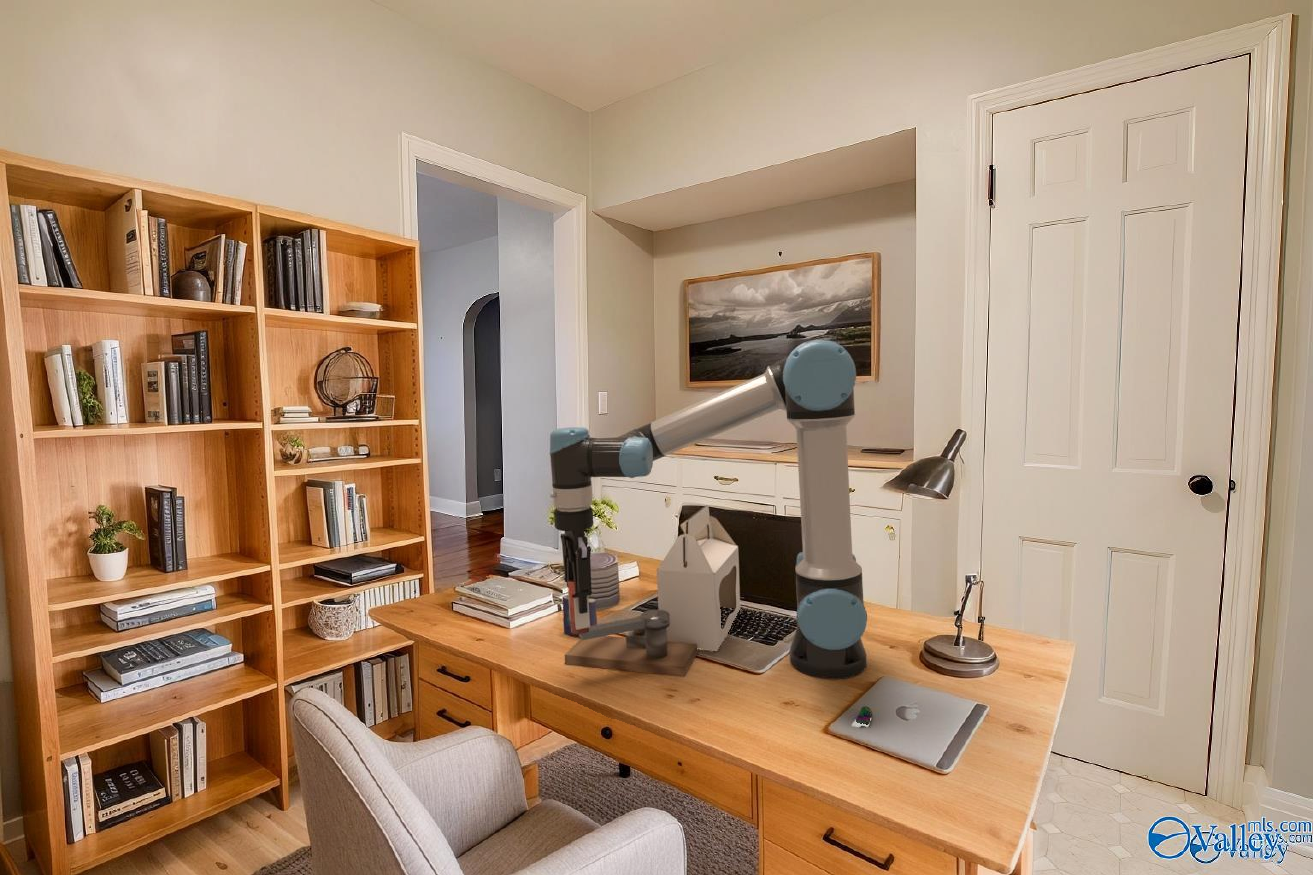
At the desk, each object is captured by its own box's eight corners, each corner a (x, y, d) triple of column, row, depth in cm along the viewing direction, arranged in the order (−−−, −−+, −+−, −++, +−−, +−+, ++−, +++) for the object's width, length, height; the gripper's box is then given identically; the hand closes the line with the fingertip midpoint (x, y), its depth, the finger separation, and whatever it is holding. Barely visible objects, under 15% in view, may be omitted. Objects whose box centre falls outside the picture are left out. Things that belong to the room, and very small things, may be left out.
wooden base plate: (697, 652, 140) (696, 616, 140) (684, 676, 130) (682, 637, 129) (586, 642, 148) (584, 607, 148) (565, 663, 138) (562, 626, 137)
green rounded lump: (855, 716, 114) (855, 703, 113) (872, 720, 112) (872, 707, 112) (849, 728, 110) (849, 715, 110) (866, 733, 109) (866, 719, 108)
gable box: (689, 610, 166) (685, 501, 163) (740, 615, 161) (737, 503, 158) (659, 646, 145) (653, 522, 142) (717, 652, 140) (712, 525, 137)
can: (629, 600, 175) (627, 556, 173) (599, 613, 166) (597, 567, 165) (598, 592, 182) (596, 550, 180) (568, 604, 173) (566, 560, 172)
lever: (663, 616, 139) (661, 562, 138) (674, 626, 134) (672, 570, 133) (568, 635, 132) (564, 578, 131) (575, 646, 126) (572, 587, 125)
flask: (600, 636, 152) (597, 591, 150) (593, 641, 149) (590, 595, 148) (568, 630, 156) (565, 586, 155) (560, 634, 154) (557, 590, 152)
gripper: (544, 502, 133) (551, 613, 136) (565, 518, 118) (572, 643, 120) (580, 497, 136) (586, 606, 138) (604, 513, 121) (611, 635, 123)
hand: (579, 623), depth 129 cm, fingers closed on lever, 4 cm apart
